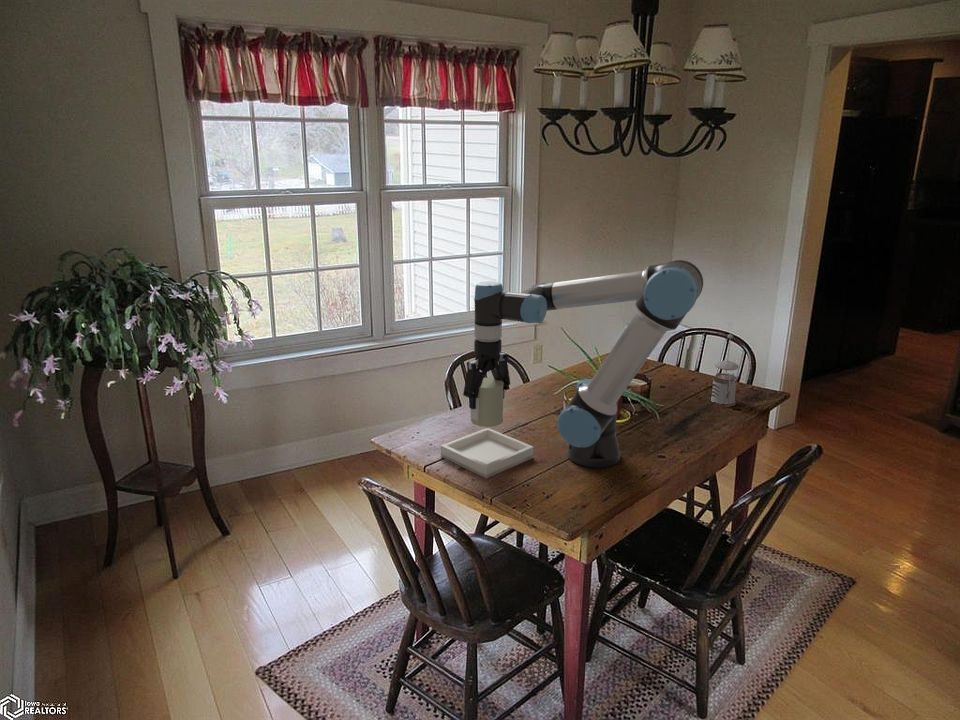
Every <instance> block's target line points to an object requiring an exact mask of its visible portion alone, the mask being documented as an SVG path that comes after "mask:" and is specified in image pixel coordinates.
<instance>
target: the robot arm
mask: <svg viewBox="0 0 960 720" xmlns="http://www.w3.org/2000/svg"><path fill="white" fill-rule="evenodd" d="M703 289H704V277H703V274H702V272H701V270H700V269H699V267H697V266H696V265H695V264H694V263H692V262H690V261H688V260H684V259H683V260H682V259H676V260H671V261H668V262H667V261H666V262H664V263H659V264H654V265H647V267H646V268H645V269H643V270H638V271H632V272H631V271H630V272H623V273H616V274H608V275H602V276H601V275H600V276H593V277H587V278H578V279H571V280H566V281H565V280H564V281H558V282H557V281H556V282H549V283H548V282H545V281H544V282H539V283H535V284H534V285H532V286H531V287H529V288H527V289H526V290H523V291H522V292H514V291H512V292H511V291H506V290H504V287H503V283H501V282H497V281H493V280H492V281H491V280H488V281H481V282H478V283H476V285H475V288H474V298H473V301H474V338H475V339H474V341H473V343H474V345H473V346H474V347H473V348H474V349H473V350H474V351H473V352H474V353H475V358H474V360H473V361H469V360H468V361H467V362H466V369H467V370H466V375H465V381H464V387H463V388H464V389H463V393H462V395H463V397H466V398H468V399H469V400H468V403H469V405H468V407H469V409H470V419H471V418H472V419H475V420H479V398H478V397H477V396H478V393H479V387H481V384H482V381H483V378H485V376H487V374H488V372H490V371H491V374H492V378H494V379H496V380H499V381H503V383H504V384H503V400H504V399H505V394H506V393H505V391H506V390H508V388H509V387H508V386H510V385H511V378H510V370H509V364H508V358H509V355H508V354H507V353H504V352H502V346H503V345H502V337H503V333H502V331H503V320H505V321H514V322H519V323H520V322H522V323H526V324H540V323H543V321H544V320H545V318H546V316H547V312H548V311H556V310H563V309H573V308H579V307H581V308H582V307H590V306H598V305H605V304H606V305H607V304H609V305H610V304H616V303H624V302H634V301H635V303H634V307H635V310H636V312H635V313H634V316H633V317H632V319H631V320H630V321H629V323H628V324H627V326H626V328H625V329H624V330H623V332H622V333H621V335H620V336H619V338H618V339H617V341H616V342H615V344H614V345H613V347H612V349H611V350H610V351H609V353H608V354H607V356H606V357H605V358H604V361H603V362H602V363H601V365H600V366H599V368H598V369H597V371H596V372H595V374H594V376H592V378H588V379H587V378H585V379H580V380H579V381H577V384H576V388H575V389H576V391H575V394H574V395H573V396H572V398H571V399H570V401H568V404H567V405H566V407H565V408H564V409H562V410H561V412H559V416H558V418H557V423H556V424H557V430H558V433H559V435H560V436H561V439H563V441H565V442H566V443H567V444H568V446H567V457H568V459H569V460H571V462H573V463H575V464H577V465H580V466H583V467H588V468H600V469H601V468H609V467H611V466H615V465H616V464H618V463H619V462H620V461H621V449H620V445H619V442H618V438H617V417H618V406H619V405H618V404H619V403H618V402H619V399H620V398H621V396H622V395H623V394H624V392H625V391H626V390H627V388H628V386H629V385H630V384H631V383H632V381H633V380H634V378H635V377H636V375H637V374H638V372H639V371H640V370H641V368H642V367H643V365H644V364H645V363H646V361H647V359H648V358H649V357H650V355H651V354H652V353H653V351H654V350H655V348H656V347H657V345H659V343H660V341H661V339H662V338H663V337H664V335H665V334H666V333H667V332H670V331H676V330H677V328H678V327H679V326H680V324H681V323H682V321H683V319H684V318H685V317H686V315H687V314H688V313H690V312H691V310H692V308H693V307H694V305H695V304H696V302H697V300H698V298H699V297H700V295H701V293H702V291H703ZM473 392H474V394H473Z"/></svg>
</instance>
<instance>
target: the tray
mask: <svg viewBox="0 0 960 720" xmlns="http://www.w3.org/2000/svg"><path fill="white" fill-rule="evenodd" d="M441 456H442V458H443V457H444V458H443V459H445V458H446V459H445V460H447V459H448V460H447V461H449V460H450V461H449V462H451V461H452V462H451V463H453V462H454V464H455V465H457V464H458V466H459V465H460V466H459V467H461V466H462V467H461V468H462V469H463V468H464V469H466V470H468V471H470V472H471V473H473V474H476V475H477V476H480V477H482V478H483V479H486V480H487V479H489V478H491V477H494V476H495V475H497V474H500V473H502V472H504V471H506V470H509V469H512V468H513V467H516V466H519V465H520V464H523V463H525V462H527V461H529V460H532V459H534V446H532V445H530V444H528V443H526V442H523V441H521V440H518V439H516V438H513V437H511V436H509V435H507V434H504V433H501V432H499V431H497V430H494V429H492V428H491V427H485V428H483V429H480V430H478V431H475V432H473V433H469V434H467V435H464V436H462V437H459V438H457V439H454V440H452V441H449V442H446V443H443V444H441V445H440V457H441Z"/></svg>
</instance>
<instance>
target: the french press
mask: <svg viewBox="0 0 960 720" xmlns="http://www.w3.org/2000/svg"><path fill="white" fill-rule="evenodd" d="M726 337H727V338H728V339H733V338H734V335H733V334H728V335H727V336H726ZM730 346H731V340H729V342H728V350H727V351H728V353H727V358H726V360H720V361H717V362H716V363H714V367H715V368H716V369H719V370H722V371H723V370H725V372H724V373H716V374H715V375H714V377H715V378H713V381H712V389H711V391H712V392H711V395H710V396H711V397H710V398H711V401H712V402H716V403H719V404H732V403H735V402H736V400H735V399H736V392H737V391H736V388H737V383H738V381H737V380H736V379H737V377H736V376H735V373H732V374H731V373H727V371H737V370H738V369H739V368H740V366H739V364H737V363H736V362H734V361H731V360H729V356H730V355H729V353H730Z"/></svg>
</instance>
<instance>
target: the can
mask: <svg viewBox="0 0 960 720" xmlns="http://www.w3.org/2000/svg"><path fill="white" fill-rule="evenodd" d="M503 384H504V383H503V381H499V380H496V379H494V377H484V378H483V381H482V384H481V387H479V393H478V396H477V397H478V398H479V420H475V419H472V418H471V417H470V422H471V423H472V424H473V425H474V426H478V427H482V428H483V427H484V428H491V427H497V426H499V425H501V424H503V421H504V418H503V415H504V414H503V412H504V399H503ZM473 394H474V392H473Z"/></svg>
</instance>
